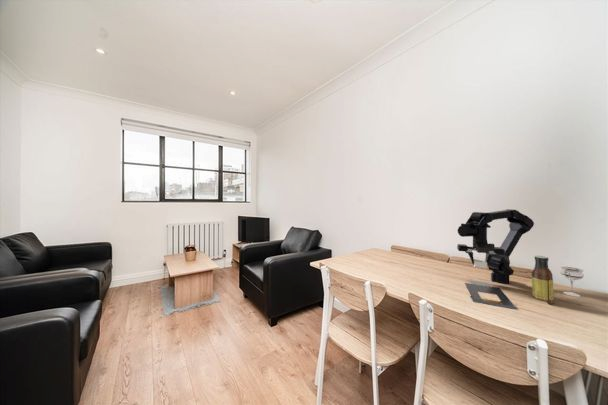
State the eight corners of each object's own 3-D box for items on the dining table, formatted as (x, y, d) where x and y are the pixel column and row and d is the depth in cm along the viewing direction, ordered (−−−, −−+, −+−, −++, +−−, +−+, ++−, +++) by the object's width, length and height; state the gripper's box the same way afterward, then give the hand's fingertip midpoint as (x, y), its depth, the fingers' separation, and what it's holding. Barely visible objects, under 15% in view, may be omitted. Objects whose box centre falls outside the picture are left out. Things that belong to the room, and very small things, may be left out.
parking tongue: (488, 284, 111) (488, 282, 111) (491, 288, 106) (491, 286, 106) (469, 281, 115) (469, 280, 114) (471, 285, 110) (471, 283, 110)
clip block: (484, 265, 111) (484, 260, 111) (487, 268, 107) (487, 262, 107) (472, 264, 114) (472, 258, 113) (474, 267, 109) (474, 261, 109)
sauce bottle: (546, 298, 95) (546, 255, 94) (558, 305, 89) (558, 259, 88) (528, 296, 97) (528, 254, 96) (537, 303, 91) (538, 258, 90)
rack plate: (499, 289, 104) (499, 287, 104) (515, 309, 86) (515, 306, 86) (464, 284, 111) (464, 282, 111) (472, 301, 93) (472, 298, 93)
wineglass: (581, 293, 99) (581, 268, 98) (585, 299, 94) (585, 272, 93) (558, 289, 103) (558, 265, 103) (561, 294, 98) (562, 269, 98)
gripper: (460, 237, 107) (460, 267, 108) (509, 240, 98) (509, 273, 99) (457, 233, 117) (457, 261, 117) (501, 236, 108) (501, 266, 108)
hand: (479, 265), depth 110 cm, fingers closed on clip block, 5 cm apart
